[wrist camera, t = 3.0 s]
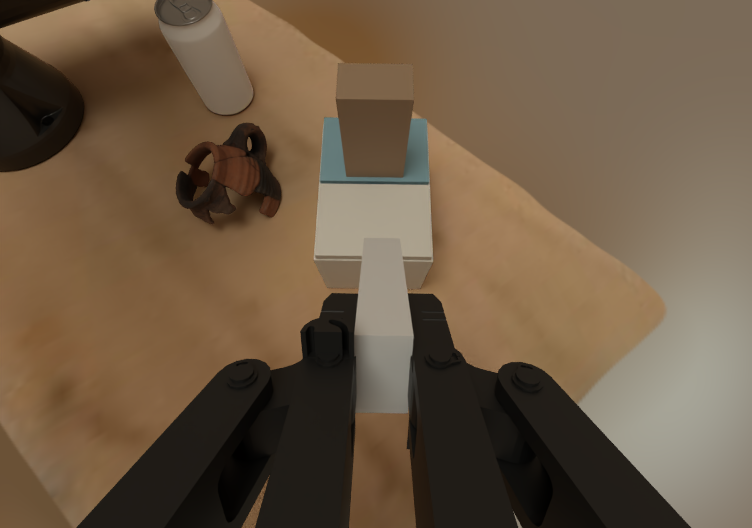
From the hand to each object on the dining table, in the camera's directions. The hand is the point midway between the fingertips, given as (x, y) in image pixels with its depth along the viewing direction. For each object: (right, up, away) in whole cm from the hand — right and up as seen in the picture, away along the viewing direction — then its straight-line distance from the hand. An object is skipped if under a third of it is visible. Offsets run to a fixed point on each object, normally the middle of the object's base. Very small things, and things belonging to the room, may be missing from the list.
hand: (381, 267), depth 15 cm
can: (-19, +22, +31) cm, 43 cm away
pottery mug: (-16, +9, +27) cm, 33 cm away
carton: (0, +4, +25) cm, 26 cm away
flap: (0, +10, +18) cm, 21 cm away
